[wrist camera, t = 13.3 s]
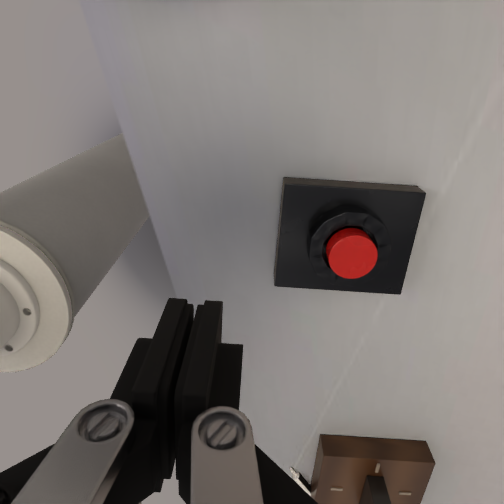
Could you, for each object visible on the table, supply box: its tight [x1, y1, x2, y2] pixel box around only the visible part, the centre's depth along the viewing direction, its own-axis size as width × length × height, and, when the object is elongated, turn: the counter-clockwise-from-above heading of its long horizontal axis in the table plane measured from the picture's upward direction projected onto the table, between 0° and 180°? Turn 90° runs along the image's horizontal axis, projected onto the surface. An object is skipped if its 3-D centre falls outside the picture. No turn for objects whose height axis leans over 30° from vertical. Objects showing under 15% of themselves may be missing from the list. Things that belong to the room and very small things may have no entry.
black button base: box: [274, 177, 426, 294], centre depth 36 cm, size 12×10×4 cm
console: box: [311, 435, 435, 504], centre depth 50 cm, size 13×11×3 cm
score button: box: [326, 228, 378, 279], centre depth 34 cm, size 4×4×2 cm
